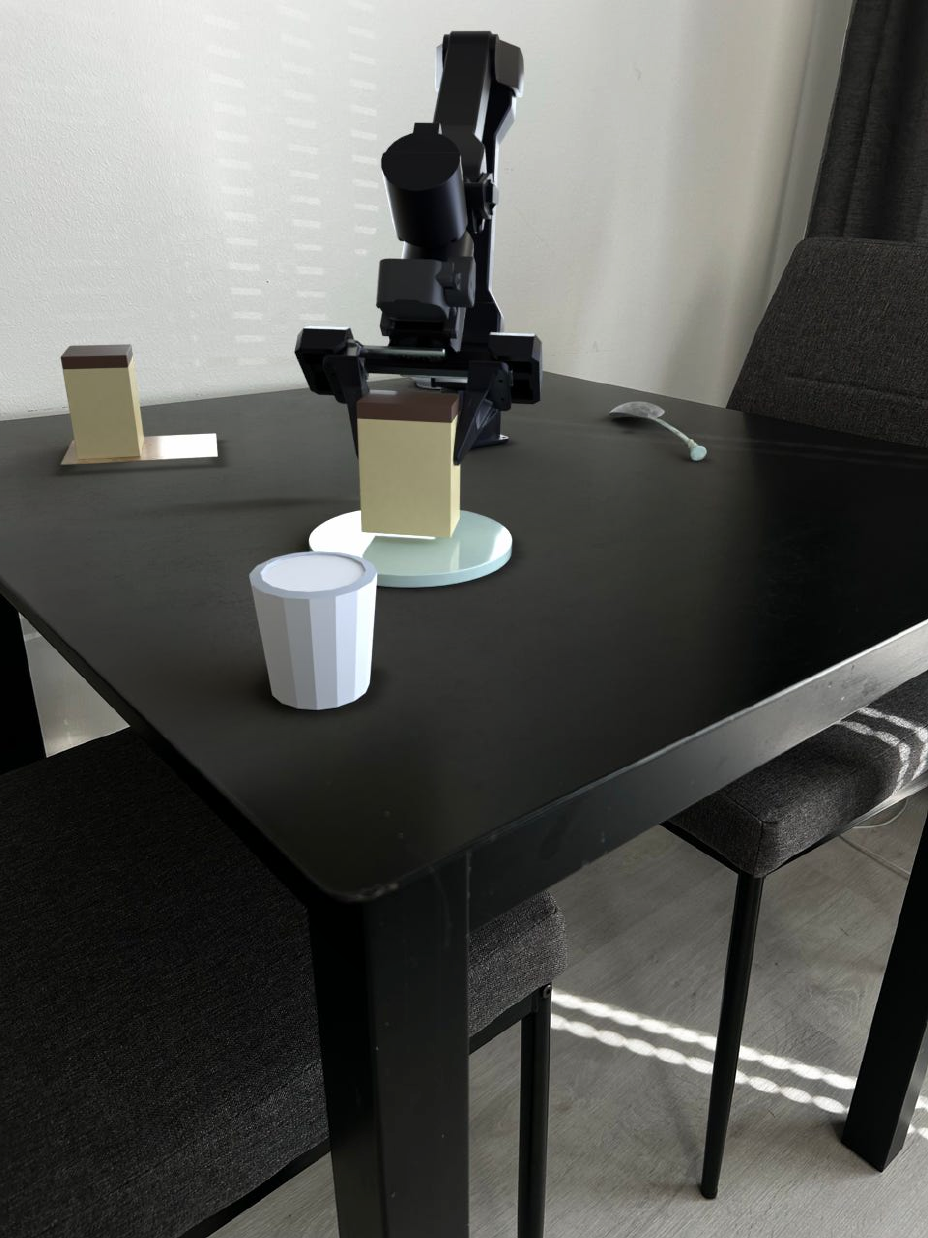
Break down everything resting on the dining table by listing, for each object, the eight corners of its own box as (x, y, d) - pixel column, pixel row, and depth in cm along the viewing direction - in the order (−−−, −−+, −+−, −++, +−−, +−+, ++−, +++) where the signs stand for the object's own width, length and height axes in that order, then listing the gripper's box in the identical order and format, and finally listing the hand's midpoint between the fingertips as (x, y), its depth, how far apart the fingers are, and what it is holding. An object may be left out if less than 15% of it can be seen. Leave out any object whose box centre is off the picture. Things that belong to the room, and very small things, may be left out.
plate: (439, 505, 82) (440, 494, 82) (553, 559, 71) (554, 547, 70) (275, 537, 74) (274, 526, 74) (373, 605, 62) (372, 592, 62)
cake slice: (374, 513, 74) (370, 389, 70) (459, 519, 73) (461, 393, 69) (361, 532, 70) (356, 401, 66) (450, 538, 69) (452, 406, 65)
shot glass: (266, 658, 55) (256, 549, 52) (380, 655, 56) (377, 547, 53) (252, 717, 49) (240, 598, 46) (380, 713, 49) (377, 595, 46)
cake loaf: (144, 439, 98) (131, 344, 94) (140, 456, 92) (126, 354, 88) (85, 442, 97) (69, 345, 93) (77, 459, 91) (60, 356, 87)
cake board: (217, 442, 102) (216, 433, 102) (218, 465, 93) (217, 456, 93) (74, 448, 98) (72, 439, 98) (61, 474, 90) (59, 464, 89)
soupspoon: (650, 420, 118) (601, 424, 117) (651, 394, 116) (601, 397, 115) (726, 458, 98) (668, 464, 97) (728, 427, 97) (670, 432, 96)
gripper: (293, 211, 67) (253, 393, 62) (548, 216, 65) (528, 405, 59) (328, 311, 77) (296, 474, 72) (548, 318, 75) (532, 487, 70)
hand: (406, 460), depth 68 cm, fingers closed on cake slice, 7 cm apart
